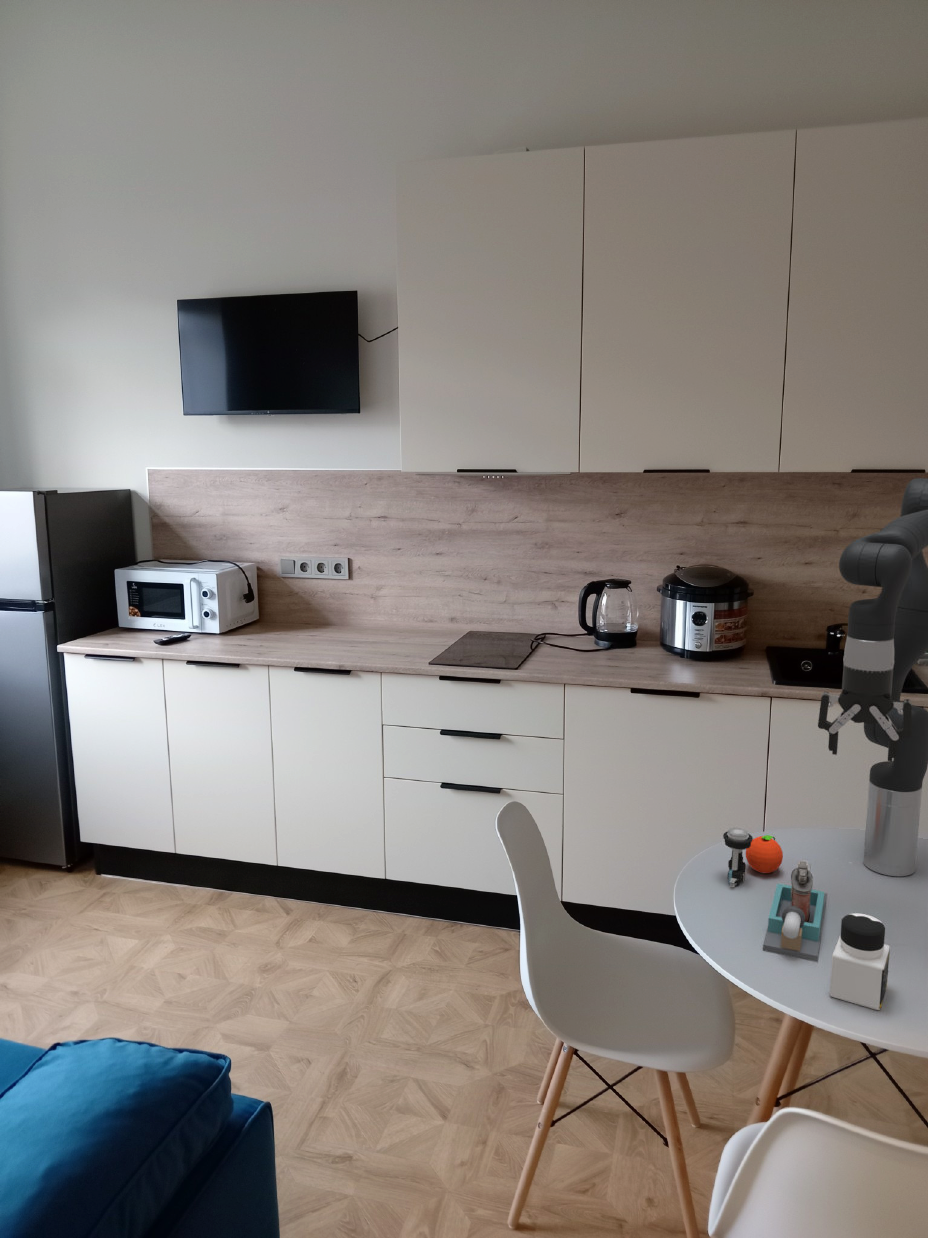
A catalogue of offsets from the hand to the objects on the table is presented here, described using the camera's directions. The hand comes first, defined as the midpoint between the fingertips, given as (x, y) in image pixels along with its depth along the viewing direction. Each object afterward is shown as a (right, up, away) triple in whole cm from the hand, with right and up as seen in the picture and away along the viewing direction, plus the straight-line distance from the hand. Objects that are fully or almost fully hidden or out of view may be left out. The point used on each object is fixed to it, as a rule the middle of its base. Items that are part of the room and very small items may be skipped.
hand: (861, 756), depth 151 cm
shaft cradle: (-9, -30, +5) cm, 32 cm away
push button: (-15, -27, +20) cm, 37 cm away
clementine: (-8, -26, +24) cm, 37 cm away
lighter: (-9, -29, +4) cm, 31 cm away
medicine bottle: (-7, -34, -14) cm, 37 cm away
